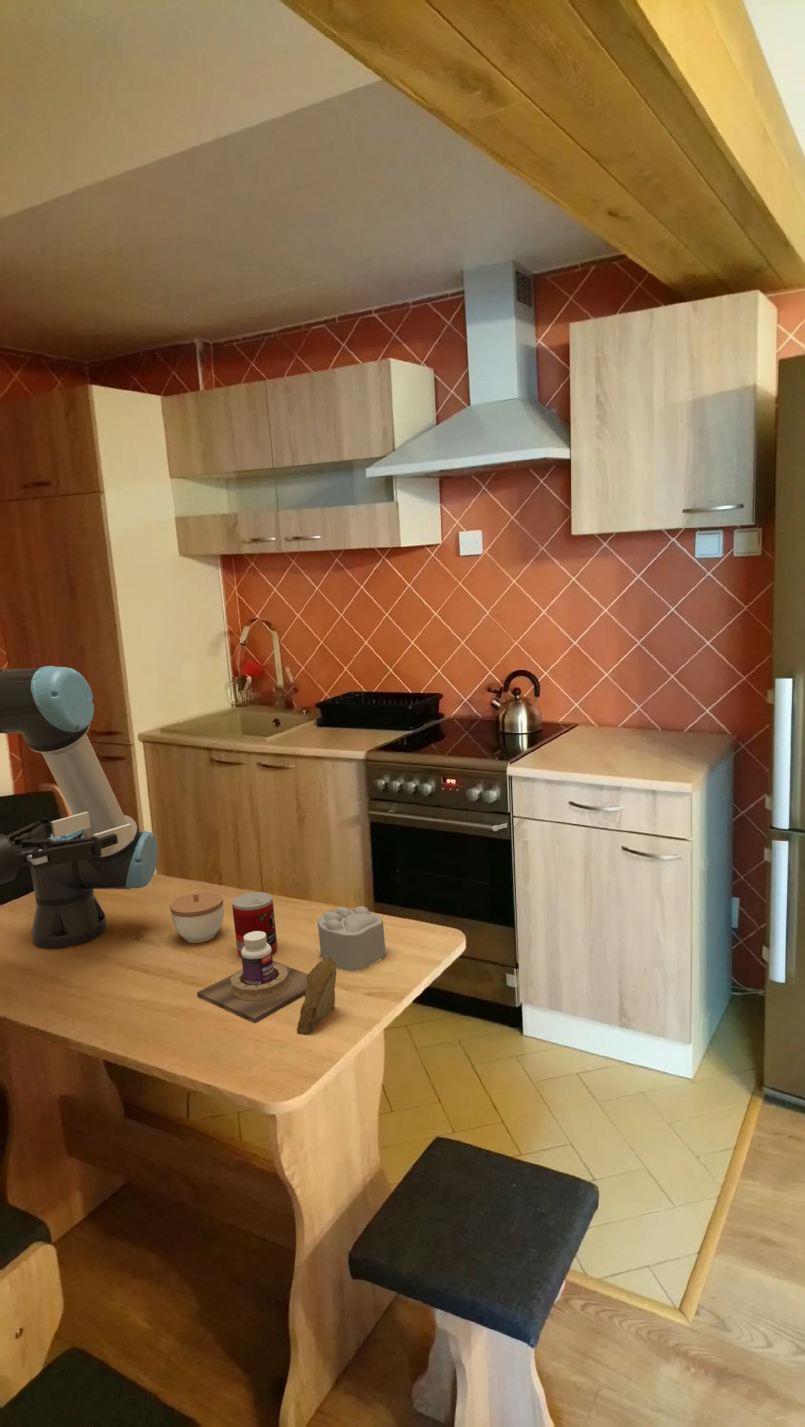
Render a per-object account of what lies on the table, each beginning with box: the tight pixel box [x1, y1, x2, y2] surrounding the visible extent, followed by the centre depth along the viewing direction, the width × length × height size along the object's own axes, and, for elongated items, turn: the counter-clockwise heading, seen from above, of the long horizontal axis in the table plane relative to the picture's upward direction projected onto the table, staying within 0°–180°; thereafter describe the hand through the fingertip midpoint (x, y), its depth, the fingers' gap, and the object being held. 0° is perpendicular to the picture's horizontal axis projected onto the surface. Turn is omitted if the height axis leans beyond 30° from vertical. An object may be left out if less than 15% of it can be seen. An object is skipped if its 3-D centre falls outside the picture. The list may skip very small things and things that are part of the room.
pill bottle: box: [240, 931, 274, 985], centre depth 158 cm, size 5×5×10 cm
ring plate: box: [196, 960, 308, 1024], centre depth 159 cm, size 16×16×3 cm
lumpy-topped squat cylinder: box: [317, 905, 387, 972], centre depth 170 cm, size 10×13×9 cm
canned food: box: [231, 891, 278, 957], centre depth 174 cm, size 8×8×11 cm
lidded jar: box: [169, 891, 225, 944], centre depth 184 cm, size 11×11×9 cm
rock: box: [296, 957, 337, 1035], centre depth 148 cm, size 11×9×10 cm
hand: (109, 825), depth 149 cm, fingers open, 13 cm apart
